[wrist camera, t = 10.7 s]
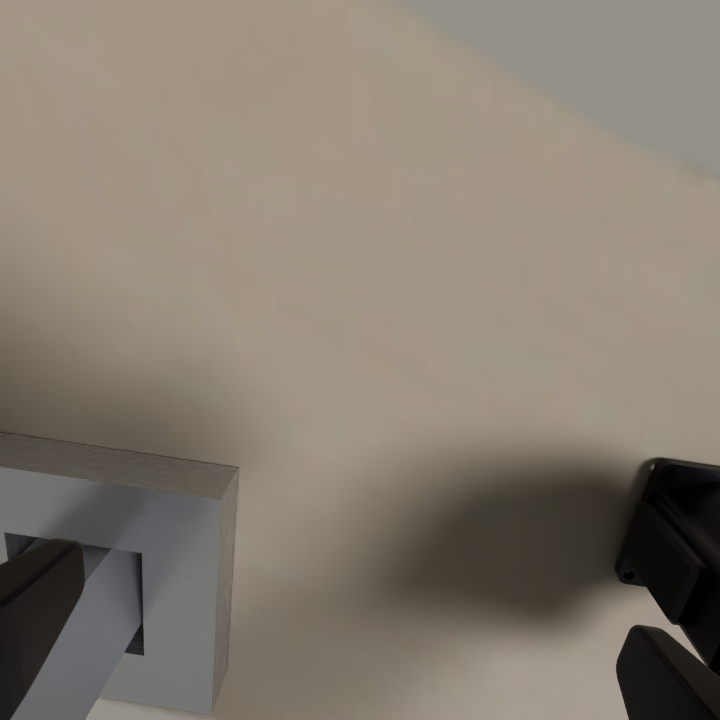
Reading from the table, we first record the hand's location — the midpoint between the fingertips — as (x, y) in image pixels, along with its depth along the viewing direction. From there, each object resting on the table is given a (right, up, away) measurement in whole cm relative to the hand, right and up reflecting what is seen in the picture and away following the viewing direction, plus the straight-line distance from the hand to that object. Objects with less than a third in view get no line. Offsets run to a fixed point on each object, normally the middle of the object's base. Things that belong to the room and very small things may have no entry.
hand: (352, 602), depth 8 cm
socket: (-13, -6, +17) cm, 22 cm away
